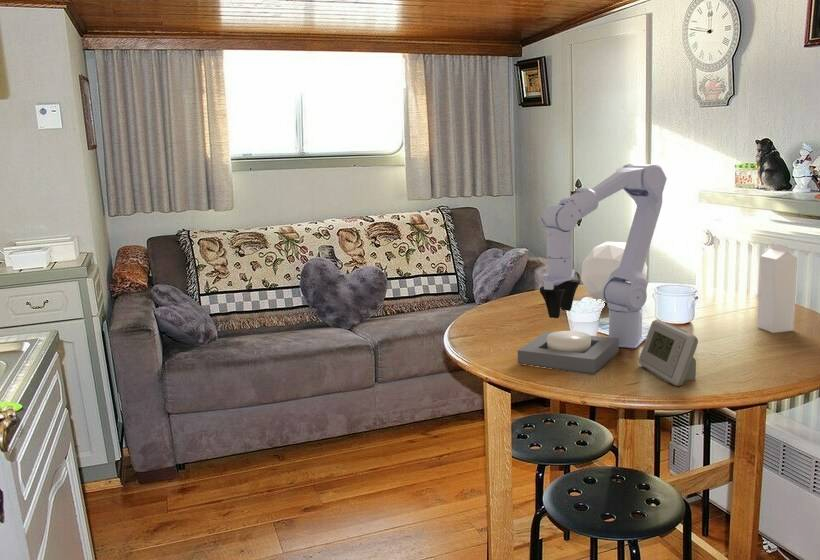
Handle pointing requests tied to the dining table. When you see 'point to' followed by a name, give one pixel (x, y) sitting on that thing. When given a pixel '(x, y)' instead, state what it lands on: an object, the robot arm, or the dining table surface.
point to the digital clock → (669, 353)
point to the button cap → (569, 341)
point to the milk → (777, 289)
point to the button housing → (569, 355)
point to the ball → (602, 267)
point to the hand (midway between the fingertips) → (560, 313)
